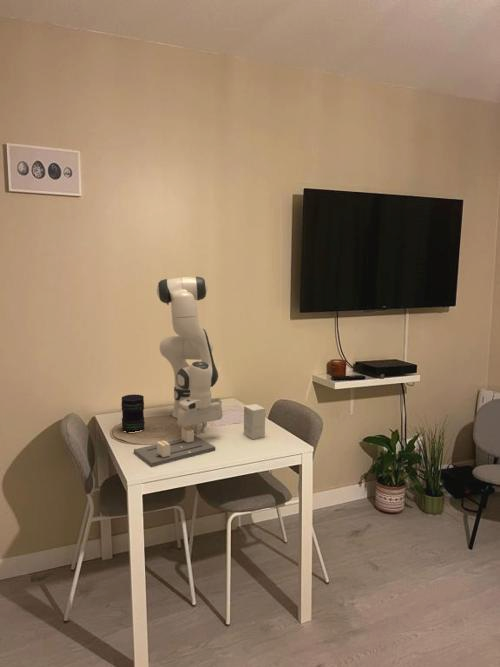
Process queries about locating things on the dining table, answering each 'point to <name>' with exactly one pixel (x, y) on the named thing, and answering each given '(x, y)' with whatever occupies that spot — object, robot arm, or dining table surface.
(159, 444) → the fader
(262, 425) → the small box
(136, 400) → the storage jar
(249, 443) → the dining table surface
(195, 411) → the robot arm
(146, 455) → the console
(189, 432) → the fader
